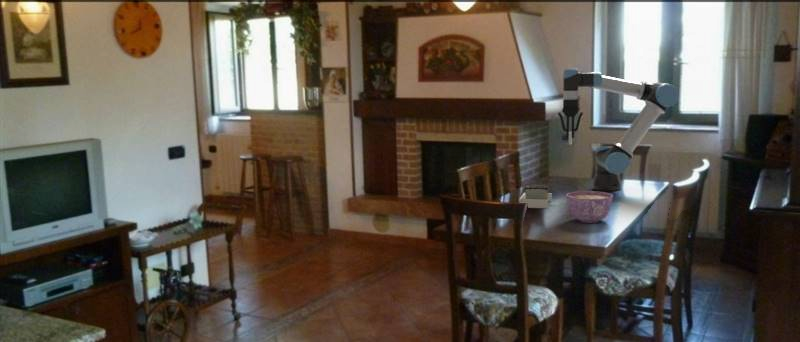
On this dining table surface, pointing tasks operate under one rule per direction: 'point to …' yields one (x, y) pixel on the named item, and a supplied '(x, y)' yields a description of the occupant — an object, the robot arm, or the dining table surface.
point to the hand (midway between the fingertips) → (570, 144)
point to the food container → (536, 191)
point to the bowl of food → (589, 205)
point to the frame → (536, 201)
